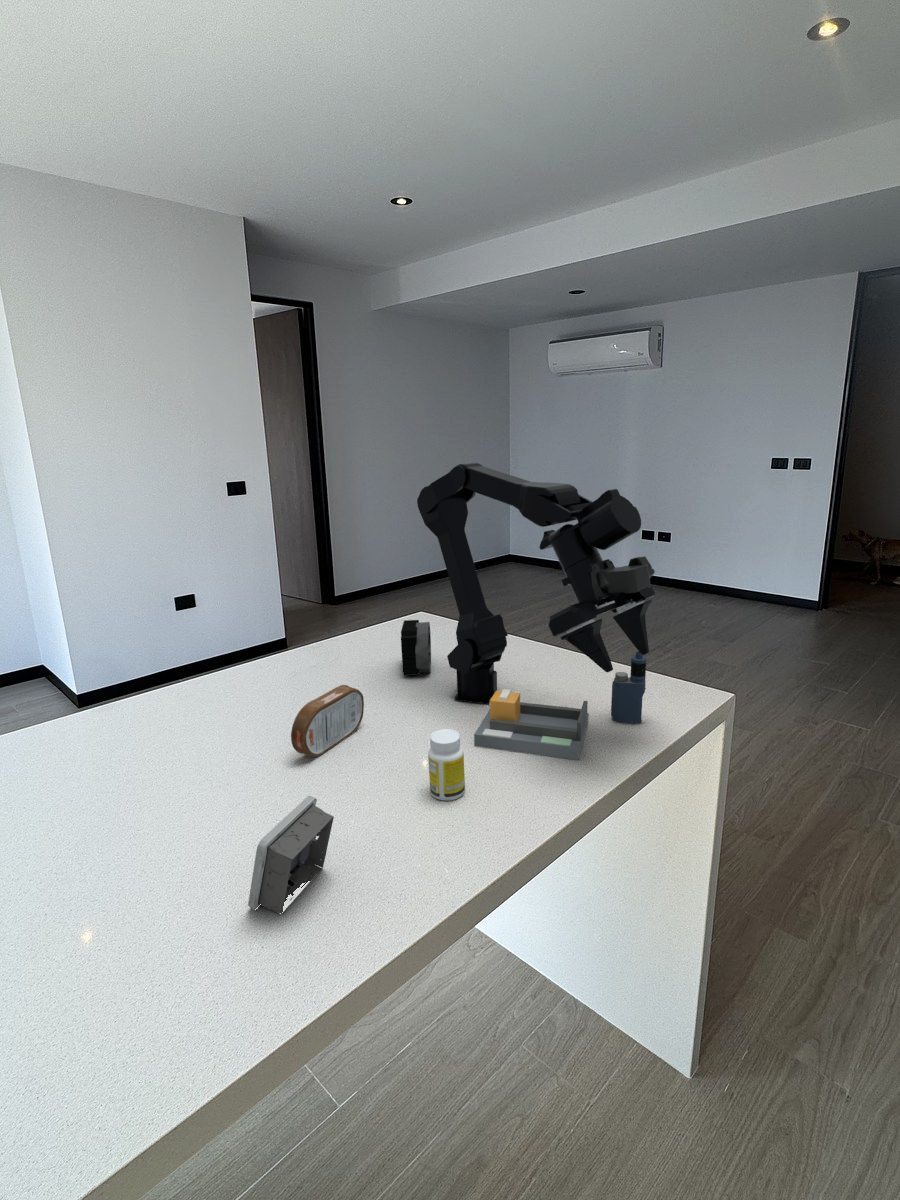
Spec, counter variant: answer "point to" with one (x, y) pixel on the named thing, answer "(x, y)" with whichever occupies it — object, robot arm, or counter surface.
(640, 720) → the vaping device
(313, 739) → the tin
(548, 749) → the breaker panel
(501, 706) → the block
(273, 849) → the electrical switch
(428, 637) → the cpu cooler
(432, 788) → the supplement bottle
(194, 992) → the counter surface
